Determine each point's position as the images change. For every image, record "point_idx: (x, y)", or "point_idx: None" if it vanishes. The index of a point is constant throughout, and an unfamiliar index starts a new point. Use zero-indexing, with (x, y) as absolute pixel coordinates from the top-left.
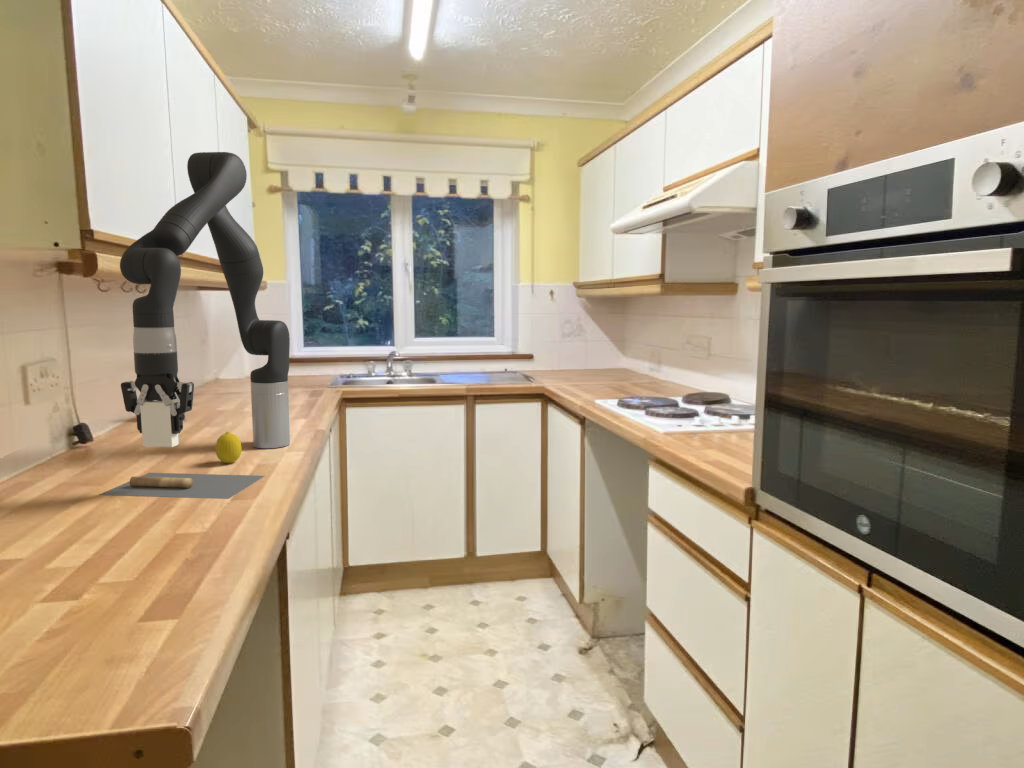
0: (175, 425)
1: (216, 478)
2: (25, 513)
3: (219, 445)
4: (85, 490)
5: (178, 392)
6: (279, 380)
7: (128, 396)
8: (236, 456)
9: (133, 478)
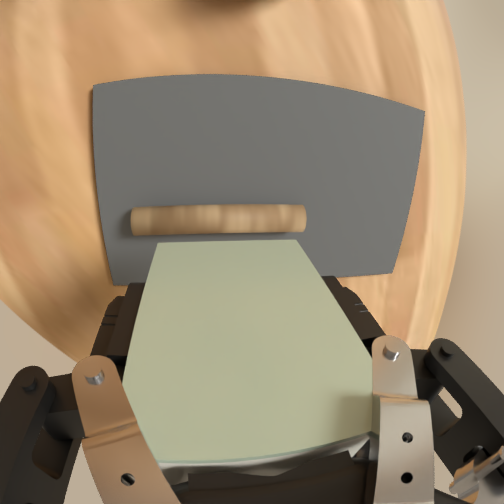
0: None
1: (329, 125)
2: (82, 352)
3: None
4: (47, 236)
5: None
6: None
7: (61, 502)
8: None
9: (141, 233)
